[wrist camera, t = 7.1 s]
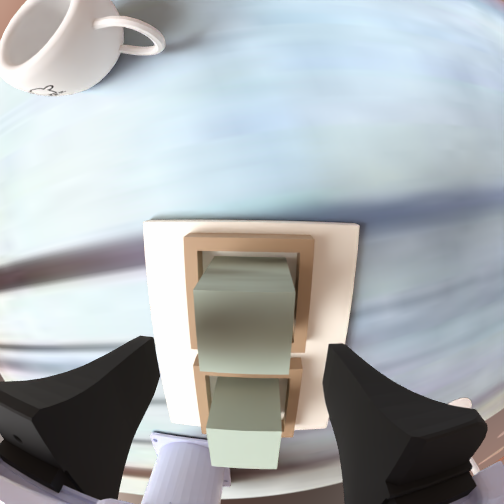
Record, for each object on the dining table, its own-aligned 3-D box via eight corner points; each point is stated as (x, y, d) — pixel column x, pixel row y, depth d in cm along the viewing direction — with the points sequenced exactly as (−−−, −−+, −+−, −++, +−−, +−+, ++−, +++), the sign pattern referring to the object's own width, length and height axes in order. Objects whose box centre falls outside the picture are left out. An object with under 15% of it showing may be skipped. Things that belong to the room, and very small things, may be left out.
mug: (41, 105, 17) (-24, 91, 10) (73, 20, 15) (23, -13, 8) (160, 112, 17) (104, 78, 10) (195, 13, 15) (166, -50, 8)
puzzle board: (324, 420, 23) (336, 479, 16) (173, 415, 23) (154, 470, 17) (354, 223, 19) (399, 245, 12) (148, 219, 19) (96, 240, 12)
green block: (282, 321, 19) (288, 374, 14) (216, 319, 20) (199, 371, 14) (285, 257, 18) (295, 292, 13) (214, 256, 19) (192, 289, 13)
